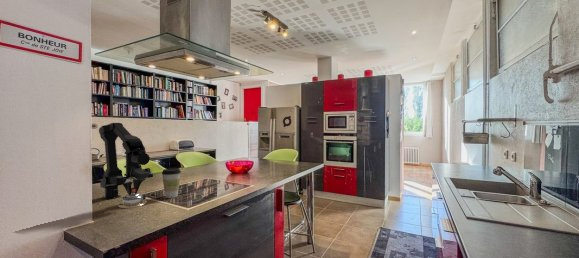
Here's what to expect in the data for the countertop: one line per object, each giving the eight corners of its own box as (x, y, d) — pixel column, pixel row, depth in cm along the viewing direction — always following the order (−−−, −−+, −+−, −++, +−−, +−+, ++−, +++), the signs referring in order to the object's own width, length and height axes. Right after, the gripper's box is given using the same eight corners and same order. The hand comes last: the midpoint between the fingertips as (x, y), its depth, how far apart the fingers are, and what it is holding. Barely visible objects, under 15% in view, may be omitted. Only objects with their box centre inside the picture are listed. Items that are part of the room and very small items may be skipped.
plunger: (122, 196, 122) (122, 188, 122) (134, 193, 128) (134, 185, 128) (131, 198, 120) (130, 189, 120) (142, 195, 125) (142, 186, 125)
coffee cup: (175, 198, 133) (175, 171, 133) (157, 198, 133) (157, 171, 133) (184, 193, 143) (184, 168, 143) (167, 193, 143) (167, 167, 143)
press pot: (112, 206, 121) (112, 198, 121) (137, 199, 132) (137, 192, 132) (129, 209, 116) (128, 201, 116) (152, 202, 128) (152, 194, 128)
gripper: (124, 167, 112) (124, 201, 112) (160, 161, 129) (160, 191, 129) (109, 165, 116) (109, 198, 117) (145, 160, 133) (145, 189, 134)
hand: (132, 194), depth 124 cm, fingers closed on plunger, 3 cm apart
